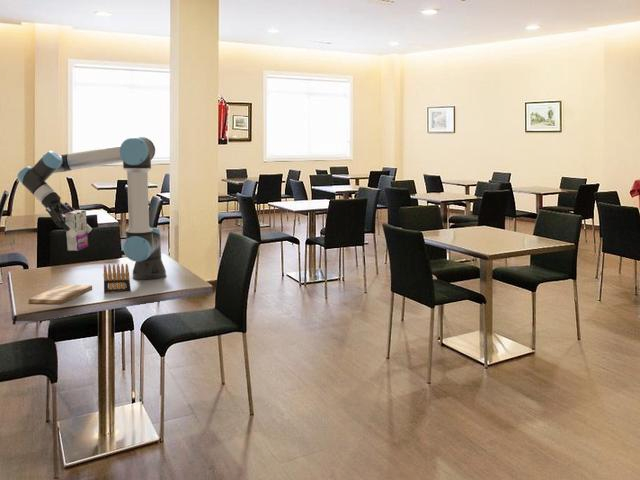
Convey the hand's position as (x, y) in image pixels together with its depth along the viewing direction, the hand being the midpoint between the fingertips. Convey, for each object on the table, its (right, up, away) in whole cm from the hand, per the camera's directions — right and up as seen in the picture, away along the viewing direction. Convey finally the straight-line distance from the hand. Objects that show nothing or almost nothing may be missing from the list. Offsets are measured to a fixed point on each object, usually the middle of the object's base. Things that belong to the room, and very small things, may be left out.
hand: (82, 233), depth 265 cm
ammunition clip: (+17, -25, -6) cm, 31 cm away
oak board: (-4, -26, -13) cm, 29 cm away
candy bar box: (-3, -7, +2) cm, 8 cm away
